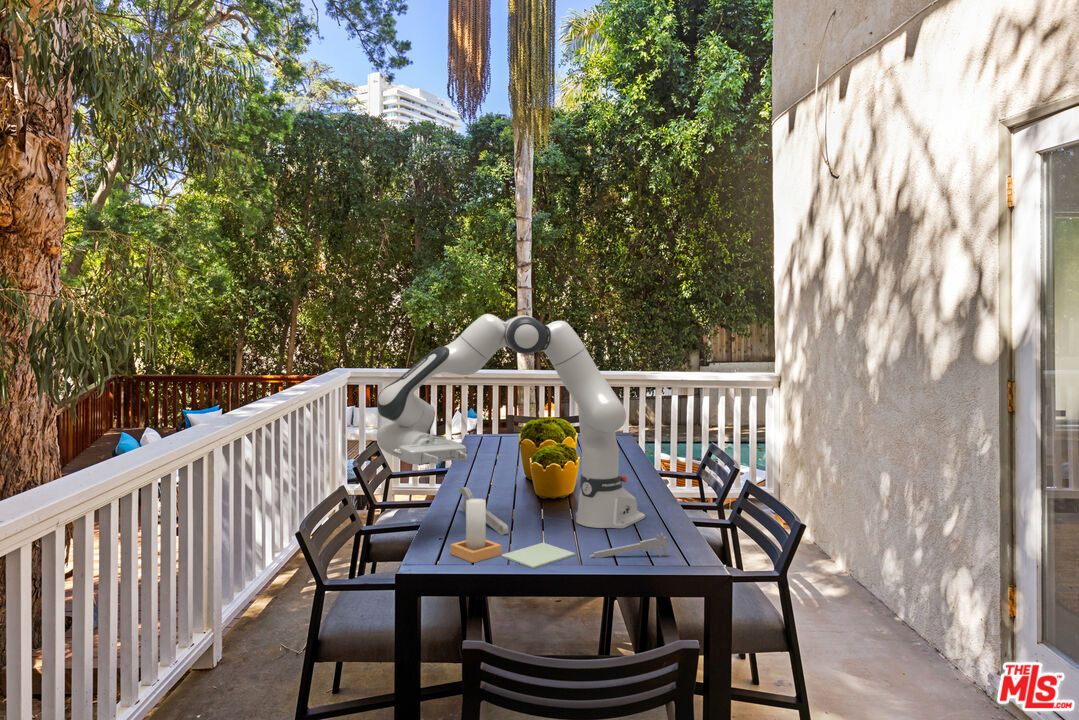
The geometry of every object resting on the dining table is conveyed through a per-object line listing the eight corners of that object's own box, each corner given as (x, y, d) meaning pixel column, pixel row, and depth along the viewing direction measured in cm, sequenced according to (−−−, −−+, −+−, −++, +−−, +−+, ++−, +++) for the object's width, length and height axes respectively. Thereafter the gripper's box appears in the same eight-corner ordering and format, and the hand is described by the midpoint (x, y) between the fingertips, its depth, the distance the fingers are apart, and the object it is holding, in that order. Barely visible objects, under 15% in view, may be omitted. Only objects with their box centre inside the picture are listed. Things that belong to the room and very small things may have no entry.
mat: (543, 544, 196) (543, 542, 196) (575, 555, 188) (575, 553, 188) (501, 556, 186) (501, 554, 186) (533, 568, 177) (533, 566, 177)
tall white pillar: (477, 549, 191) (477, 497, 191) (489, 554, 188) (489, 501, 187) (462, 554, 188) (462, 500, 187) (474, 558, 184) (474, 504, 184)
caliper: (666, 556, 188) (667, 532, 188) (667, 557, 187) (668, 533, 187) (589, 557, 187) (589, 533, 187) (589, 558, 186) (589, 534, 185)
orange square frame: (478, 546, 195) (478, 536, 194) (501, 554, 188) (501, 545, 188) (450, 553, 188) (450, 544, 188) (472, 562, 181) (472, 553, 181)
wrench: (502, 545, 205) (457, 509, 230) (508, 544, 206) (462, 508, 231) (504, 518, 203) (458, 485, 228) (509, 517, 204) (463, 484, 229)
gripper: (390, 439, 195) (423, 450, 186) (447, 435, 210) (480, 445, 201) (387, 462, 195) (420, 474, 186) (444, 456, 211) (477, 467, 202)
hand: (452, 459), depth 194 cm, fingers open, 8 cm apart
